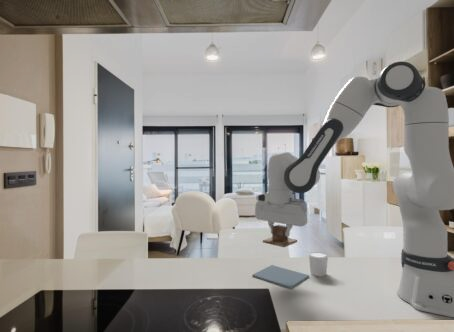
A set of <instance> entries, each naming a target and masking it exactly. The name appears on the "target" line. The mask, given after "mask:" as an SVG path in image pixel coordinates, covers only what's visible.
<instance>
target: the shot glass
mask: <svg viewBox="0 0 454 332" xmlns="http://www.w3.org/2000/svg"><path fill="white" fill-rule="evenodd" d="M328 258H329V255H328V254H326V253H324V252H318V251H317V252H316V251H315V252H310V253H308V259H309V261H308V262H309V271H310V274H311V275H313V276H316V277H324V276H327V270H328V269H327V268H328Z"/></svg>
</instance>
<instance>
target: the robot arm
mask: <svg viewBox="0 0 454 332" xmlns="http://www.w3.org/2000/svg"><path fill="white" fill-rule="evenodd" d="M426 83H427V82H426V81H425V80H424V78H423V77H422V75H421V74H420V72H419V71H418V69H417V68H416V66H414V64H412V63H410V62H408V61H395V62H393V63H389V64H388V65H387V66H385V67H384V68H383V69H382V70H381V72H380V73H379V74H378V77H377V78H375V79H371V78H370V79H369V78H367V77H365V76H354V77H352V78H350V79H349V80H348V81H347V83H346V84H344V86H343V87H342V88H341V89H340V90H339V92H338V93H337V95H336V96H335V98H333V100H332V102H331V103H330V105H329V107H328V110H327V111H326V112H325V115H324V117H323V119H322V121H321V124H320V125H319V128H318V131H317V132H316V135H315V136H314V137H313V139H312V140H311V142H310V143H309V145H308V146H307V148H306V149H305V150H304V152H303V153H302V155H301V156H299V157H296V156H295V155H293V154H292V153H291V152H288V151H286V152H285V151H284V152H278V153H275V154H272V155H271V156H270V157H269V160H268V164H267V179H268V187H267V191H266V192H264V193H260V194H257V195H256V196H255V199H256V203H255V207H254V208H255V209H254V214H255V215H254V216H255V219H256V220H259V221H265V222H267V224H268V227H269V229H270V234H271V235H272V226H275V223H277V224H283V225H285V226H286V227H288V228H287V230H286V231H284V236H286V237H288V238H289V237H290V235H291V233H290V232H291V230H292V229H293V226H295V227H305V226H306V225H307V224H308V214H307V213H308V212H307V208H308V207H307V202H306V201H304V200H303V199H301V198H294V197H293V193H296V194H305V193H307V192H309V191H311V189H312V188H313V187H315V186H316V185H317V184H318V183H319V181H320V177H321V173H320V169H319V168H320V166H321V165H322V163H323V161H324V160H325V158H326V157H327V156H328V154H330V153H329V152H331V150H332V148H333V147H334V146H335V145H336V144H337V143H338V142H339V141H341V140H343V139H344V138H345V137H347V136H349V135H350V134H351V133H352V132H353V131H354V130H355V129H356V128H357V127H358V125H359V124H360V123H361V121H362V120H363V119H364V117H365V115H366V114H367V112H368V111H369V109H371V107H372V106H379V107H383V108H396V107H399V106H400V107H401V108H402V110H403V115H404V123H403V124H404V129H403V151H404V153H405V155H406V156H407V157H408V161H409V164H410V170H406V171H403V172H401V173H399V174H398V175H396V176H395V178H394V179H393V181H392V186H391V187H392V191H393V193H394V194H395V196H396V198H397V202H398V207H399V212H400V216H401V220H402V234H403V235H402V237H403V238H402V241H403V246H402V247H403V248H402V249H401V252H400V253H401V257H400V261H401V262H400V263H401V268H402V271H401V278H400V283H399V286H398V289H397V291H396V292H397V295H398V297H399V298H401V299H402V301H403V300H404V301H405V302H407V303H409V304H410V305H411V306H412V307H413V308H414V309H416V310H418V311H422V312H426V313H430V314H435V315H439V316H445V317H450V318H454V257H452V256H450V255H449V254H448V228H447V226H446V224H445V223H444V221H443V220H442V217H441V214H440V211H446V210H447V211H450V210H454V165H453V162H452V157H451V154H450V153H451V152H450V148H449V147H450V146H449V145H450V143H449V138H450V137H449V135H450V134H449V126H450V123H449V122H450V121H449V120H450V119H449V106H448V102H447V97H446V93H445V91H443V89H441V88H439V87H436V86H426Z"/></svg>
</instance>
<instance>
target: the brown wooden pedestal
mask: <svg viewBox="0 0 454 332" xmlns="http://www.w3.org/2000/svg"><path fill="white" fill-rule="evenodd" d="M287 228H288V227H286V225H284V224H283V225H281V224H277V225H274V226H272V234H271V237H268V238H265V239H263V240H262V243H264V244H269V245H272V246H276V247H280V248H286V247H289V246H292V245H294V244H296V243H298V239H295V238H289V236H288V237H286V236H284V231H286V230H287Z"/></svg>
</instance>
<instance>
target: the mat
mask: <svg viewBox="0 0 454 332" xmlns="http://www.w3.org/2000/svg"><path fill="white" fill-rule="evenodd" d="M252 277H254V278H256V279H260V280H263V281H267V282H269V283H272V284H275V285H278V286H281V287H284V288H287V289H293V288H295V287H296V286H297V285H299V284H300V283H302V282H303V281H305V280H306V279H308V278H310V275H309V274H307V273H303V272H298V271H295V270H291V269H287V268H284V267H280V266H277V265H273V264H271V265H269V266H267V267H265V268H263V269H261V270H259V271H257V272H255V273H253V274H252Z"/></svg>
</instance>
